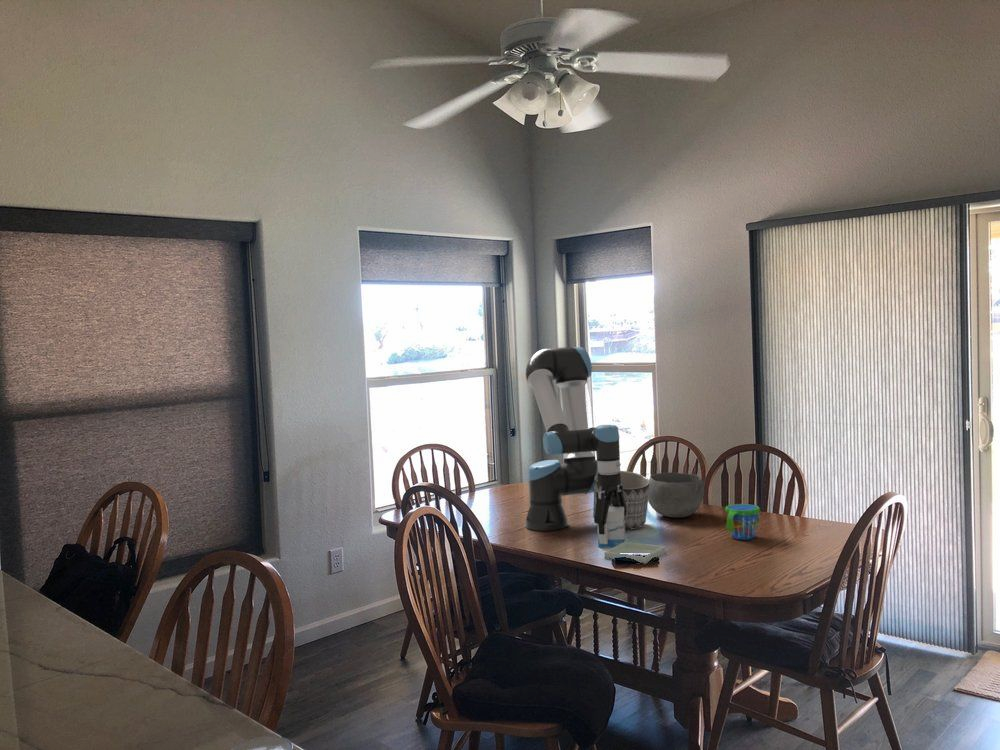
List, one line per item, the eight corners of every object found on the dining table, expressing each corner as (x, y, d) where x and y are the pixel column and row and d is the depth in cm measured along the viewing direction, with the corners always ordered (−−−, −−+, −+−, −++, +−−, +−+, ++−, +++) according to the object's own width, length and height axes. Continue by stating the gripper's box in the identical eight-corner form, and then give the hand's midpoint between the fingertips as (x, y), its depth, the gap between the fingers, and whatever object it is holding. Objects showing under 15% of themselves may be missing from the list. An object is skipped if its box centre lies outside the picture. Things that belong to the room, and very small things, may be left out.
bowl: (642, 521, 298) (640, 480, 297) (654, 509, 317) (652, 470, 316) (700, 524, 290) (698, 482, 289) (708, 511, 309) (707, 471, 308)
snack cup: (746, 530, 278) (745, 500, 278) (772, 536, 269) (771, 505, 269) (714, 539, 269) (713, 508, 269) (740, 545, 261) (739, 513, 260)
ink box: (624, 547, 265) (622, 511, 264) (597, 547, 267) (596, 511, 266) (625, 540, 273) (624, 505, 273) (600, 540, 275) (598, 506, 274)
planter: (633, 538, 280) (636, 492, 276) (582, 525, 290) (584, 481, 286) (654, 521, 296) (657, 477, 292) (605, 509, 306) (608, 467, 302)
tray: (604, 558, 253) (604, 552, 253) (625, 547, 265) (625, 541, 265) (646, 564, 245) (645, 557, 245) (665, 552, 256) (665, 546, 256)
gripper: (601, 479, 257) (605, 549, 258) (635, 467, 276) (638, 532, 277) (580, 478, 261) (584, 546, 263) (615, 466, 280) (618, 530, 281)
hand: (611, 539), depth 270 cm, fingers closed on ink box, 11 cm apart
